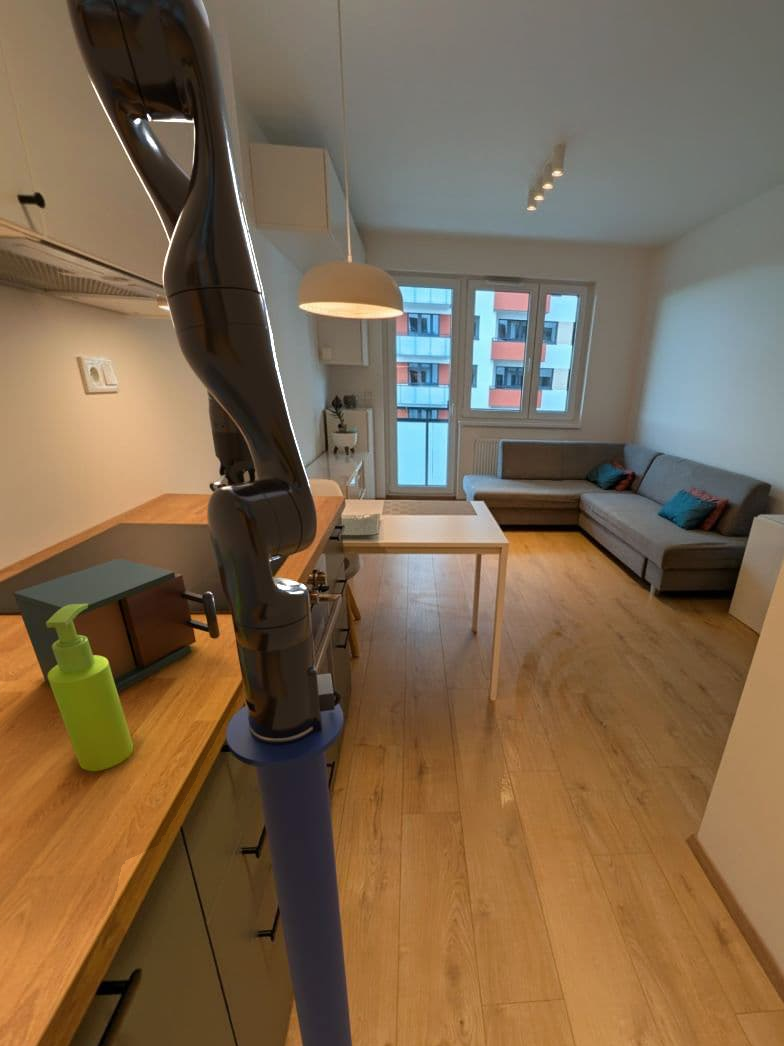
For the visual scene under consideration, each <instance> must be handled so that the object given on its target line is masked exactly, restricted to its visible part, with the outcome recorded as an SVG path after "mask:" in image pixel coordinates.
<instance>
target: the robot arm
mask: <svg viewBox="0 0 784 1046" xmlns="http://www.w3.org/2000/svg"><path fill="white" fill-rule="evenodd" d="M64 3H65V7H66V11H67V15H68V20H69V24H70V27H71V31H72V34H73V38H74V40H75V43H76V45H77V46H76V47H77V50H78V52H79V55H80V58H81V61H82V64H83V66H84V69H85V70H86V73H87V75H88V78H89V80H90V83H91V85H92V87H93V89H94V91H95V94H96V95H97V98H98V100H99V102H100V104H101V106H102V108H103V110H104V112H105V114H106V116H107V118H108V120H109V122H110V123H111V126H112V128H113V129H114V133H116V136H117V138H118V139H119V141H120V143H121V145H122V147H123V148H122V149H124V151H125V154H126V155H127V157H128V159H129V161H130V163H131V166H132V167H133V169H134V171H135V173H136V175H137V176H138V178H139V180H140V182H141V184H142V186H143V188H144V190H145V192H146V194H147V195H148V197H149V199H150V201H151V203H152V205H153V206H154V208H155V211H156V213H157V215H158V217H159V219H160V221H161V225H162V226H163V229H164V231H165V233H166V237H167V239H168V242H169V245H168V249H167V252H166V255H165V259H164V264H163V270H162V283H163V284H162V286H163V290H164V294H165V298H166V299H165V300H166V301H167V306H168V309H169V313H170V318H171V322H172V325H173V328H174V333H175V336H176V340H177V344H178V347H179V349H180V352H181V354H182V356H183V358H184V360H185V362H186V364H187V365H188V367H189V368H190V370H191V372H193V374H194V375H195V376H196V378H197V379H198V380H199V382H200V383H201V384H202V386H203V387H205V389H206V392H207V397H208V398H207V399H208V400H207V401H208V417H209V422H210V428H211V435H212V442H213V448H214V454H215V457H216V458H217V459H218V461H219V463H220V464H219V470H218V473H219V477H218V479H217V480H216V481H214V482H213V481H211V482H210V483H209V490H210V491H212V493H211V495H210V497H209V498H208V502H207V507H206V518H207V519H206V520H207V528H208V532H209V537H210V542H211V546H212V549H213V553H214V557H215V561H216V565H217V570H218V574H219V580H220V584H221V588H222V592H223V594H224V596H225V598H226V600H227V604H228V606H229V610H230V614H231V620H232V626H233V632H234V638H235V644H236V645H235V646H236V650H237V657H238V661H239V662H238V663H239V668H240V674H241V681H242V686H243V692H244V693H243V694H242V697H243V702H244V706H245V705H246V708H247V710H248V719H249V727H250V732H251V734H252V736H253V737H254V738H255V739H256V740H258V741H259V742H262V743H265V744H269V745H285V744H291V743H294V742H297V741H300V740H302V739H304V738H306V737H308V736H309V735H311V734H312V733H314V732H319V731H321V730H322V726H321V712H322V711H329V710H335V706H336V705H337V704H340V702H341V699H342V695H341V693H340V692H339V691H338V690H336V689H335V688H334V687H333V681H332V674H331V673H330V672H328V673H322V674H317V665H316V664H317V663H316V653H315V645H314V644H315V643H314V636H313V634H314V633H313V625H312V614H311V613H312V612H311V600H310V599H311V598H310V593H309V590H308V588H307V586H305V584H303V583H302V582H300V581H297V580H295V579H293V578H289V577H288V578H287V577H280V576H274V575H273V572H272V568H271V563H272V562H275V561H278V560H281V559H284V558H286V557H289V556H292V555H295V554H298V553H301V552H303V551H305V550H307V549H309V548H310V547H311V546H312V545H313V543H314V542H315V539H316V538H317V532H318V517H317V510H316V505H315V499H314V496H313V493H312V492H313V491H312V489H311V486H310V483H309V482H310V481H309V479H308V476H307V473H306V469H305V466H304V463H303V460H302V457H301V456H302V455H301V453H300V450H299V446H298V443H297V440H296V437H295V432H294V429H293V426H292V422H291V419H290V414H289V410H288V406H287V401H286V397H285V393H284V388H283V384H282V379H281V375H280V372H279V367H278V361H277V357H276V352H275V351H276V350H275V345H274V339H273V338H274V337H273V333H272V328H271V325H270V324H271V323H270V318H269V313H268V309H267V303H266V300H265V295H264V294H265V293H264V290H263V285H262V282H261V278H260V277H261V276H260V274H259V269H258V265H257V264H258V263H257V260H256V256H255V252H254V248H253V244H252V240H251V235H250V232H249V227H248V223H247V219H246V218H247V217H246V214H245V209H244V203H243V199H242V194H241V188H240V183H239V177H238V170H237V164H236V157H235V153H234V147H233V140H232V133H231V128H230V121H229V115H228V110H227V102H226V96H225V91H224V85H223V79H222V72H221V68H220V67H221V66H220V61H219V56H218V51H217V47H216V41H215V37H214V34H213V29H212V25H211V22H210V19H209V15H208V12H207V9H206V6H205V4H204V1H203V0H64ZM151 121H153V122H171V123H192V124H193V154H192V168H191V173H190V174H189V173H188V172H187V171H186V170H185V169H184V168H183V167H182V166H181V165H180V164H179V163H178V161H176V159H175V158H174V157H173V156H172V155H171V154H170V152H169V151H168V149H166V147H165V146H164V145H163V144H162V142H161V141H160V139H159V138H158V137H157V135H156V134H155V132H154V131H153V129H152V127H151V125H150V123H149V122H151Z"/></svg>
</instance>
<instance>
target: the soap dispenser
mask: <svg viewBox="0 0 784 1046" xmlns="http://www.w3.org/2000/svg"><path fill="white" fill-rule="evenodd" d="M86 608H88V604H70V605H67V606H65V607H63V608H61V609H60V610H58V611H57V612H56V613H55V614H54V615H53V616H52V617H51V618H50V619H49V620H48V621H47V622H46V626H47V628H50V627H55V629H56V631H57V634H58V637H59V639H58V640H57V641H56V642H54V643H53V645H52V649H53V652H54V655H55V658H56V660H57V663H58V665H56V666H55V667H53V668H52V669H51V670H50V671H49V673H48V680H49V686H50V688H51V691H52V693H53V696H54V699H55V702H56V704H57V707H58V710H59V712H60V716H61V718H62V721H63V724H64V727H65V729H66V732H67V734H68V737H69V741H70V743H71V746H72V748H73V752H74V754H75V756H76V760H77V762H78V765H79V767H80V768H81V769H82V770H84V771H89V772H99V771H104V770H108V769H111V768H113V767H115V766H117V765H120V764H121V763H123V762H124V761H125V760H127V758H129V757H130V755H131V754H132V753H133V752H134V751H133V750H134V744H133V740H132V736H131V733H130V729H129V726H128V723H127V720H126V716H125V713H124V709H123V706H122V703H121V700H120V696H119V693H117V689H116V686H115V683H114V679H113V676H112V672H111V669H110V666H109V662H108V660H107V659H106V658H105V657H103V656H98V655H93V654H92V651H91V647H90V644H89V641H88V638H87V637H86V636H83V635H77V633H76V630H75V627H74V623H73V619H74V618H75V617H76V616H77V615H78V614H79V613H80V612H81V611H83V610H84V609H86Z"/></svg>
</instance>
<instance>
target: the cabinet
mask: <svg viewBox="0 0 784 1046" xmlns="http://www.w3.org/2000/svg"><path fill="white" fill-rule="evenodd" d="M175 573H176V572H175V571H171V570H169V569H168V570H167V569H164V568H160V567H155V566H153V565H146V564H143V563H139V562H135V561H131V560H127V559H124V558H115V559H113V560H109V561H106V562H102V563H100V564H97V565H93V566H90V567H88V568H84V569H82V570H78V571H76V572H73V573H68V574H66V575H64V576H60V577H57V578H53V579H51V580H47V581H44V582H42V583H39V584H35V585H32V586H29V587H26V588H23V589H20V590H17V591H14V592H13V597H14V599H15V602H16V605H17V607H18V610H19V613H20V616H21V618H22V621H23V624H24V627H25V629H26V632H27V634H28V638H29V640H30V643H31V646H32V648H33V649H32V650H33V652H34V654H35V657H36V659H37V662H38V664H39V667H40V671H41V673H42V676H43V678H44V681H46V682H49V680H48V673H49V671H50V670H51V669H52V668H53V667H55V666H56V665H58V663H57V660H56V658H55V655H54V652H53V649H52V645H53V643H54V642H56V641H57V640H58V639H59V637H58V634H57V631H56V629H55V627H50V628H47V626H46V622H47V621H48V620H49V619H50V618H51V617H52V616H53V615H54V614H55V613H56V612H57V611H58V610H60V609H61V608H63V607H65V606H67V605H70V604H88V608H86V609H84V610H83V611H81V612H80V613H79V614H78V615H77V616H76V617H75V618H74V619H73V623H74V627H75V630H76V633H77V635H83V636H86V637H87V638H88V641H89V644H90V647H91V651H92V654H93V655H98V656H103V657H105V658H106V659H107V660H108V662H109V666H110V669H111V672H112V676H113V679H114V683H115V686H116V689H117V693H118V694H119V693H121V692H123V691H125V690H126V689H128V688H130V687H132V686H134V685H136V684H137V683H139V682H141V681H142V680H145V679H147V678H148V677H150V676H151V675H153V674H155V673H157V672H159V671H160V670H162V669H163V668H165V667H167V666H169V665H172V664H173V663H175V662H176V661H179V660H180V659H181V658H183V657H186V656H187V655H189V654H191V653H192V649H191V645H189V646H186V647H184V648H182V649H180V650H179V651H177V652H175V653H173V654H171V655H169V656H167V657H166V658H164V659H162V660H160V661H158V662H156V663H155V664H153V665H151V666H149V667H147V668H145V669H142V668H139V667H138V664H137V660H136V657H135V653H134V649H133V646H132V642H131V638H130V634H129V631H128V627H127V623H126V619H125V616H124V612H123V608H122V605H121V601H120V599H122V598H125V597H127V596H130V595H133V594H135V593H138V592H140V591H143V590H145V589H148V588H150V587H153V586H155V585H158V584H160V583H163V582H165V581H168V580H170V579H173V578H175Z"/></svg>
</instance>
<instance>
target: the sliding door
mask: <svg viewBox="0 0 784 1046" xmlns="http://www.w3.org/2000/svg"><path fill="white" fill-rule="evenodd" d="M174 573H175V578H173V579H170V580H168V581H165V582H163V583H160V584H158V585H155V586H153V587H150V588H148V589H145V590H143V591H140V592H138V593H135V594H133V595H130V596H127V597H125V598H122V599H120V601H121V605H122V608H123V612H124V616H125V619H126V623H127V627H128V631H129V634H130V638H131V642H132V646H133V649H134V653H135V657H136V660H137V664H138V667H139V668H142V669H145V668H147V667H149V666H151V665H153V664H155V663H156V662H158V661H160V660H162V659H164V658H166V657H167V656H169V655H171V654H173V653H175V652H177V651H179V650H180V649H182V648H184V647H186V646H191V645H193V644H195V643H196V642H197V639H196V635H195V630H198V631H202V632H204V633H205V632H206V633H208V635H209V637H210V638H211V639H213V640H216V639H218V638H219V637H220V636H221V635H220V634H221V633H220V627H219V626H220V625H219V621H218V616H217V610H216V606H215V599H214V595H213V593H212V592H211V591H205V592H203V593H202V594H199V593H196V592H192V591H188V590H186V586H185V581H184V576H183V574H180V573H176V572H174ZM189 601H191V602H195V603H198V604H202V605H203V609H204V614H205V619H206V622H203V621H199V620H195V619H192V615H191V611H190V605H189Z"/></svg>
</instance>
